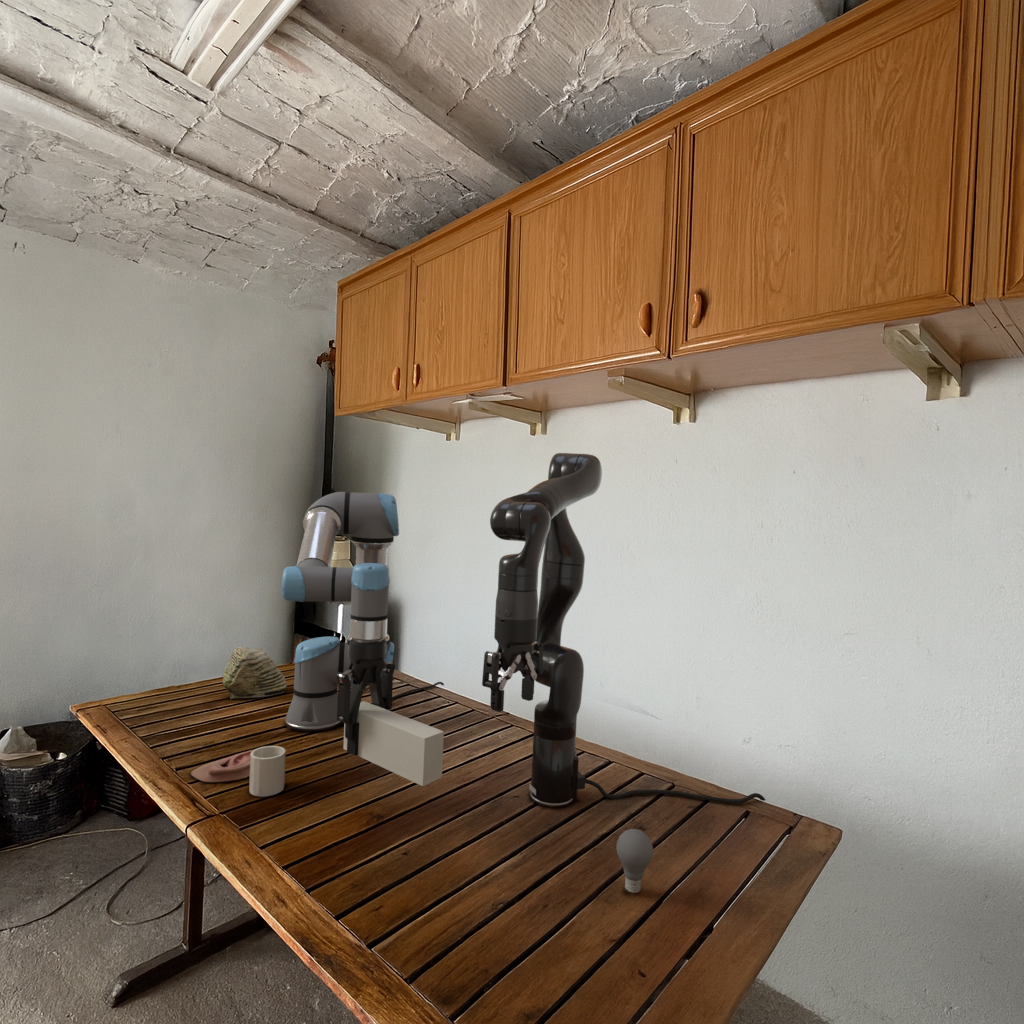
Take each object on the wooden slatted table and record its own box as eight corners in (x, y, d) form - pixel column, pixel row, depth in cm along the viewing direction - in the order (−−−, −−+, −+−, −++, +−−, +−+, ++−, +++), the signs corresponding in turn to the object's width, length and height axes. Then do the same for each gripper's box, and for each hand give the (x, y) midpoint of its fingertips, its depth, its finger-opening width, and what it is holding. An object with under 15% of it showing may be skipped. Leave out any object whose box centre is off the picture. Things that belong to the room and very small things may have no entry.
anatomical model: (182, 760, 139) (216, 741, 150) (181, 778, 139) (216, 758, 150) (236, 768, 136) (267, 748, 147) (235, 786, 136) (266, 765, 147)
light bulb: (610, 879, 108) (613, 822, 108) (644, 879, 109) (647, 822, 109) (619, 902, 102) (622, 840, 102) (655, 901, 103) (658, 840, 103)
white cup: (272, 778, 141) (274, 743, 141) (290, 788, 137) (291, 752, 137) (242, 789, 136) (244, 752, 136) (260, 799, 131) (261, 761, 131)
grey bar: (343, 749, 132) (345, 706, 132) (362, 742, 136) (364, 701, 136) (422, 786, 117) (424, 738, 117) (441, 777, 121) (444, 731, 121)
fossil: (218, 695, 195) (220, 647, 195) (278, 685, 208) (279, 640, 207) (228, 703, 189) (230, 653, 188) (289, 692, 201) (290, 645, 201)
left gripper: (390, 629, 141) (385, 733, 141) (320, 641, 126) (315, 756, 127) (413, 635, 136) (408, 742, 137) (343, 648, 122) (338, 768, 122)
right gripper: (524, 607, 120) (520, 692, 120) (473, 615, 109) (469, 709, 109) (556, 612, 115) (552, 701, 116) (507, 622, 104) (503, 720, 104)
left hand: (363, 749), depth 132 cm, fingers closed on grey bar, 5 cm apart
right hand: (512, 705), depth 112 cm, fingers open, 8 cm apart
